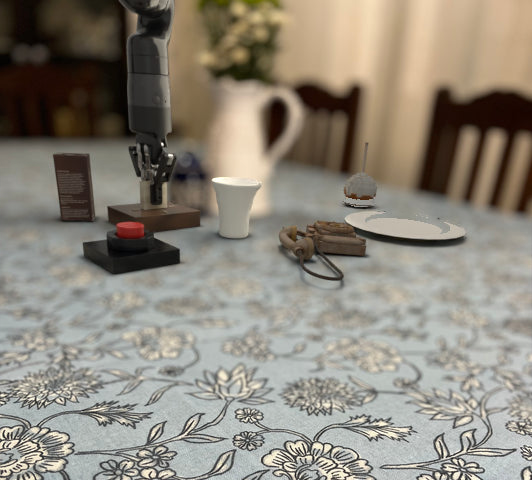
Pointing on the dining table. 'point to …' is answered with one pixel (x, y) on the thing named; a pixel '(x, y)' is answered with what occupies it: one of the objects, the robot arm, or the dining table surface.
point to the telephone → (322, 243)
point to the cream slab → (145, 196)
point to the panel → (155, 216)
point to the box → (74, 186)
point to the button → (130, 229)
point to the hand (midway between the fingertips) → (153, 203)
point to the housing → (130, 252)
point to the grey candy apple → (361, 184)
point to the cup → (234, 204)
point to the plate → (402, 228)
